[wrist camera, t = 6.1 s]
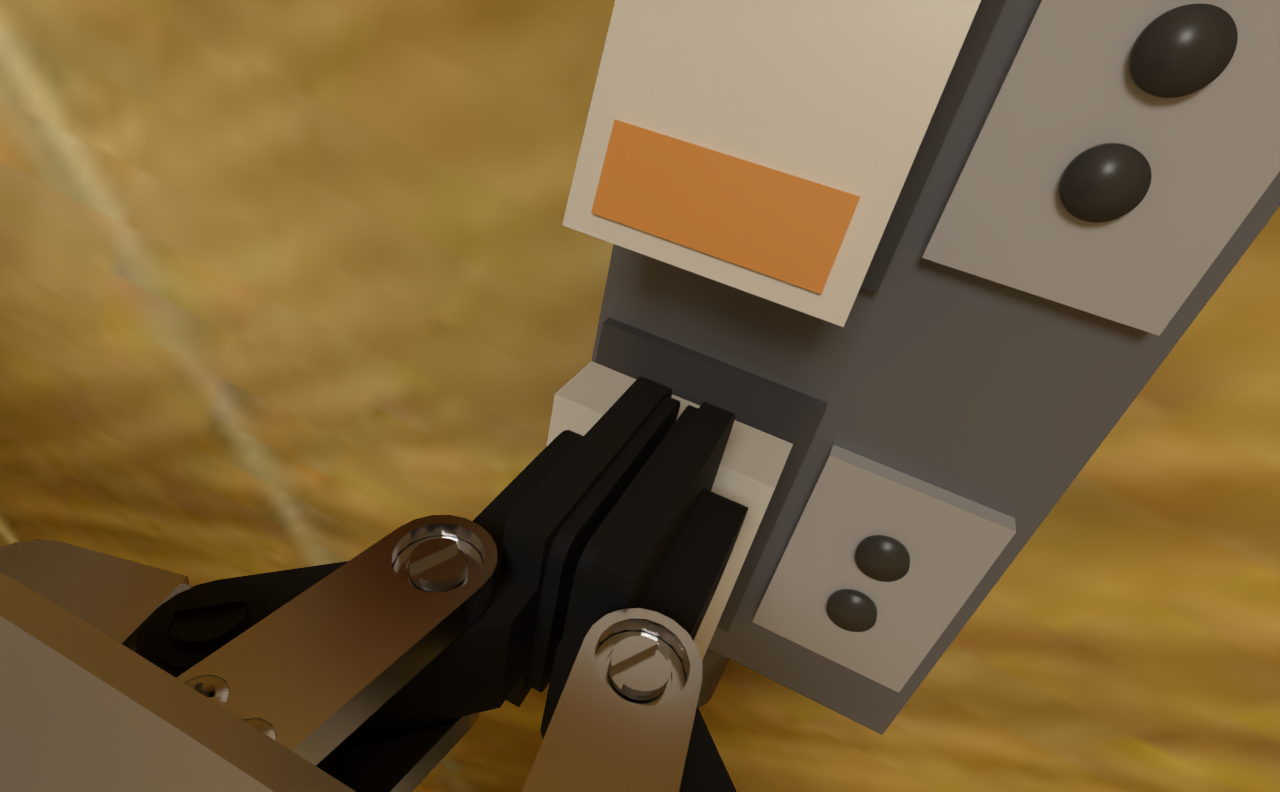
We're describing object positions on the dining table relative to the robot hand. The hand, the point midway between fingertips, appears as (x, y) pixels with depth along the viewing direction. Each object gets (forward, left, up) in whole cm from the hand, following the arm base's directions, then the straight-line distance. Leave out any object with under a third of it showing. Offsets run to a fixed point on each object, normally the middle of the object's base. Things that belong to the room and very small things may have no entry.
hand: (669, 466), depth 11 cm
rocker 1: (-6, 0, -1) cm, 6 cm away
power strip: (+1, +2, -7) cm, 7 cm away
